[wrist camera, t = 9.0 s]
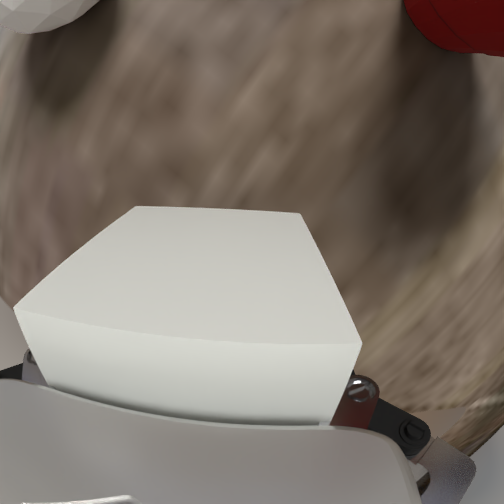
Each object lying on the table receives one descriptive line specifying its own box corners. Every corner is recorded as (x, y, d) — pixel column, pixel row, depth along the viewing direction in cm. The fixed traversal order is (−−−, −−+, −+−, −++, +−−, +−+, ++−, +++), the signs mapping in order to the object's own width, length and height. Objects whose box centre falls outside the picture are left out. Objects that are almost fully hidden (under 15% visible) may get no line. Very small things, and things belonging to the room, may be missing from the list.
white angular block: (299, 213, 13) (362, 343, 5) (282, 344, 16) (296, 486, 8) (135, 206, 13) (13, 307, 5) (151, 334, 16) (100, 462, 8)
